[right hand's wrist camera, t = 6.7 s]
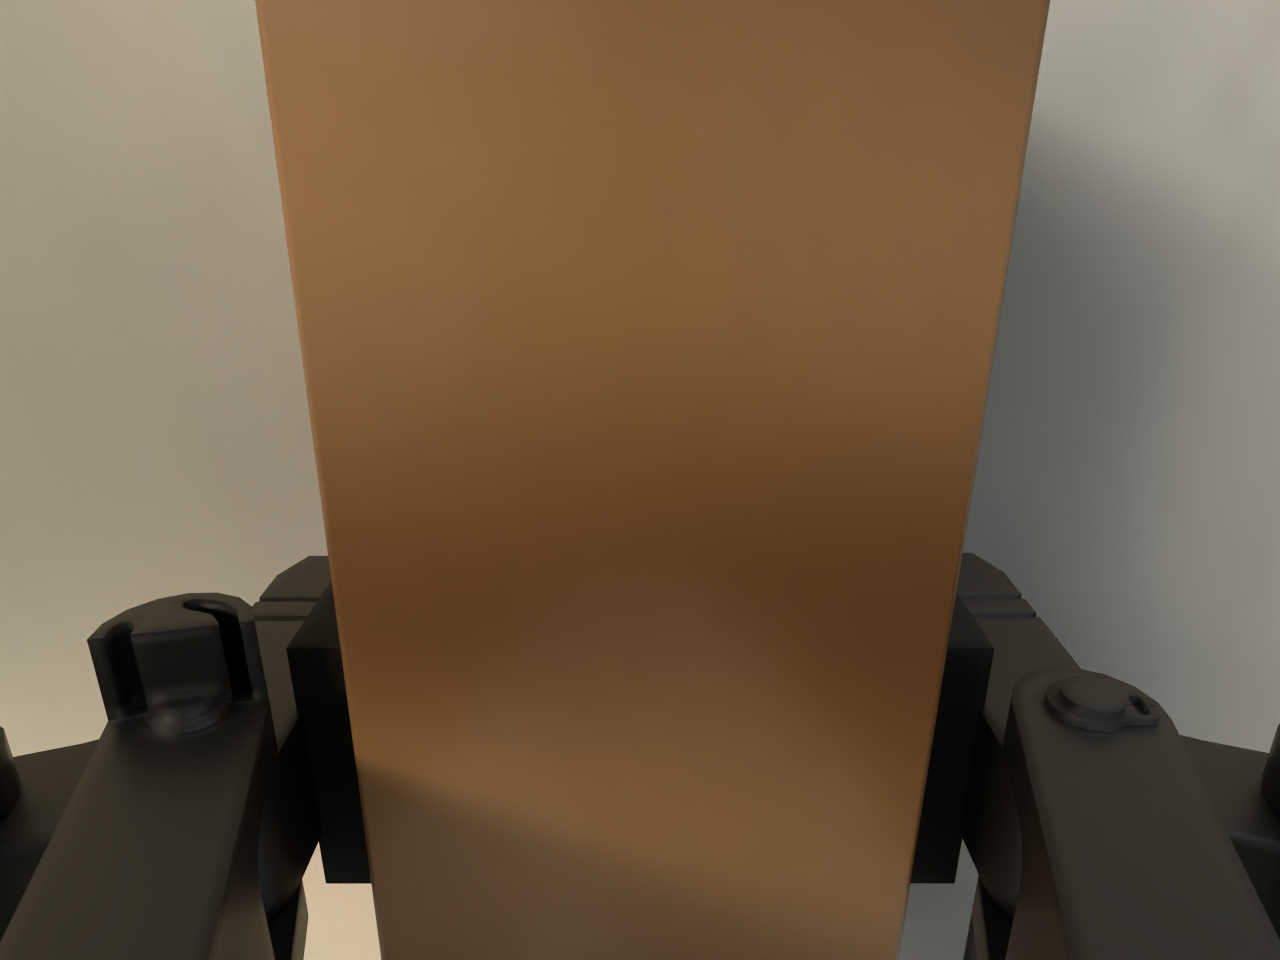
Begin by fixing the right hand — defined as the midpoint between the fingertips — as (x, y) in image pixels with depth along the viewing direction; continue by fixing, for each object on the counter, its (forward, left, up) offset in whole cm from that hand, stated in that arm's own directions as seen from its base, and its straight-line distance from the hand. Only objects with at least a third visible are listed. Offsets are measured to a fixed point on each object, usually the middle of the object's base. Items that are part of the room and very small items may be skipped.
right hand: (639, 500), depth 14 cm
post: (+10, -17, -1) cm, 20 cm away
